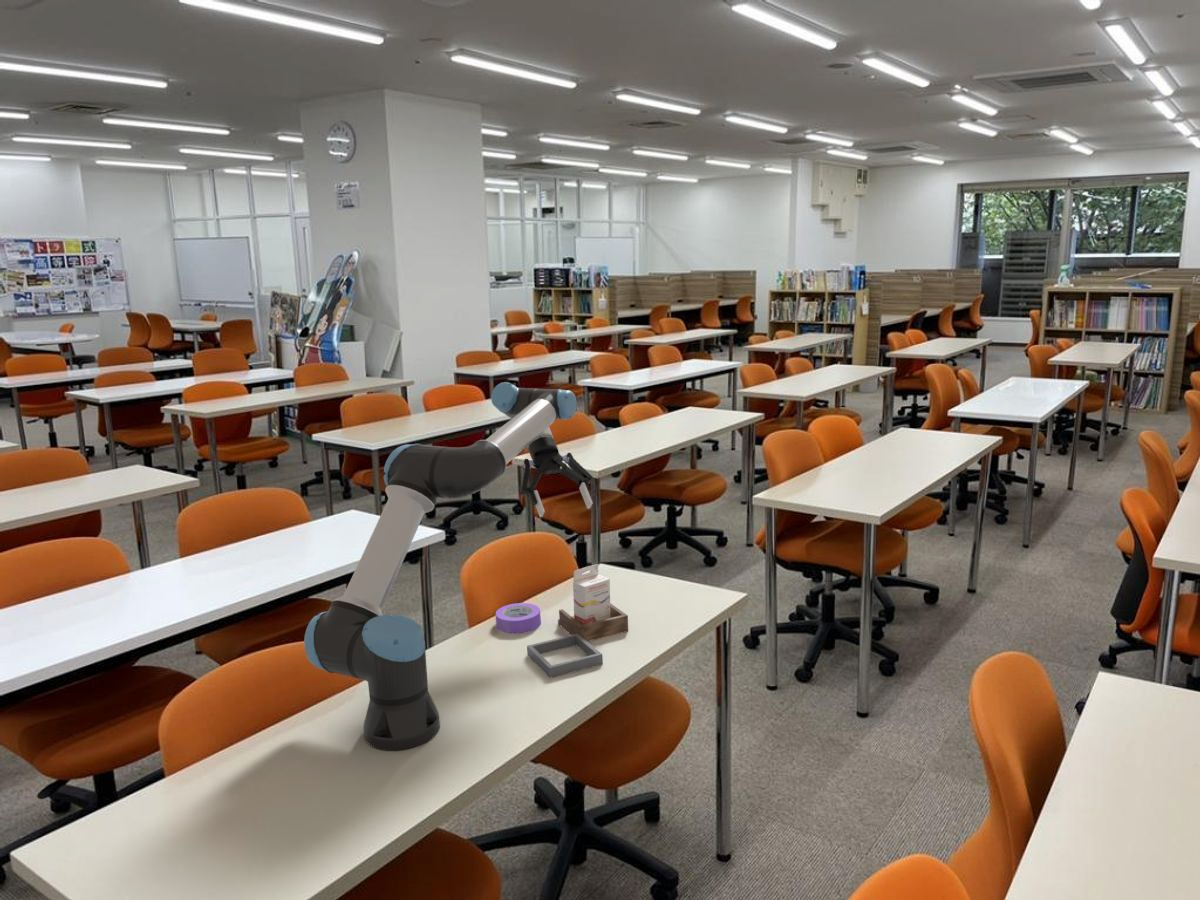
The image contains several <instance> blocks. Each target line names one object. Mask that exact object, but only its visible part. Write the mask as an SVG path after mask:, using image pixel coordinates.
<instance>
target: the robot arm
mask: <svg viewBox="0 0 1200 900" xmlns="http://www.w3.org/2000/svg"><path fill="white" fill-rule="evenodd" d="M490 399H491V400H490V401H491V404H492V406H493V407H495V408H496V409H497V410H498V411H499V412H500V413H502V414H504V415H505V416H507V417H508V418H510V419H509V420H508V421H507V422H506V423H505V424H503V425H502V426H501V427H500V428H499V429H497V430H495V432H494V433H492V434H491V435H489V437H488V438H486V439H480V440H477V441H475V442H474V443H473V444H471V445H468V446H462V447H461V446H460V447H454V446H453V447H449V446H439V445H425V444H423V443H414V444H403V445H400V446H398V447H397V448H395V449H394V450H393V451H391V453H390V454H389V456H388V458H387V459H386V460H385V464H384V468H383V472H384V475H383V480H384V484H385V486H386V487H385V489H384V491H385V493H386V496H387V501H386V503H385V505H384V507H383V510H382V511H381V514H380V516H379V519H378V520H377V523H376V524H375V527H374V529H373V532H372V534H371V535H370V538H369V540H368V541H367V544H366V546H365V548H364V550H363V553H362V555H361V557H360V559H359V562H358V563H357V566H356V567H355V570H354V572H353V574H352V577H351V578H350V580H349V583H348V585H347V587H346V589H345V591H344V593H343V595H342V596H340V597H337V598H334V599H333V600H332V602H331V604H330V606H329V609H328V610H327V611H323V612H319V613H318V614H317V615H314V616H313V617H312V618H311V620H310V621H309V622H308V625H307V627H306V630H305V633H304V637H303V638H304V640H303V647H304V650H305V655H306V658H307V660H308V661H309V662H310V664H311V665H312V666H314V667H315V668H317V669H319V670H323V671H326V672H327V673H329V674H338V675H341V676H346V677H350V678H354V679H358V680H361V681H362V680H363V681H366V682H367V686H368V694H369V696H368V697H369V704H368V706H367V710H366V715H365V718H364V723H363V736H364V737H363V738H364V739H365V742H366V741H367V742H368V743H369V744H370V745H369V744H368V743H367V742H366V743H367V744H368V745H369V746H371V745H372V746H374V747H373V748H375V747H376V748H375V749H378V748H379V749H378V750H382V749H385V750H384V751H399V750H402V751H403V750H406V749H411V748H416V747H418V746H420V745H423V744H425V743H426V742H428V741H430V740H431V739H433V738H434V737H435V736H436V734H437V733H438V732H439V730H440V727H441V722H440V721H441V719H440V713H439V711H438V709H437V706H436V705H435V702H434V700H433V698H432V696H431V693H430V692H429V685H428V682H429V681H428V668H427V667H428V666H427V653H426V641H425V638H424V637H425V636H424V633H423V627H422V626H421V624H420V623H419V622H418V621H417V620H416V619H413V618H411V617H410V616H407V615H402V614H392V615H389V614H383V612H382V611H383V608H384V606H385V603H386V601H387V599H388V597H389V594H390V592H391V590H392V587H393V586H394V583H395V581H396V579H397V577H398V574H399V572H400V569H401V567H402V564H403V562H404V560H405V558H406V556H407V554H408V552H409V549H410V546H411V544H412V542H413V540H414V537H415V535H416V533H417V531H418V528H419V526H420V524H421V522H422V520H423V517H424V515H425V514H426V513H430V512H432V511H433V510H434V509H435V507H436V504H437V503H438V500H439V499H449V500H455V499H456V500H457V499H462V498H465V497H469V496H470V495H471V496H472V494H476V493H477V492H479V491H481V490H483V489H485V488H486V487H488V486H489V485H490V484H491V485H492V484H493V483H494V482H495V481H496V480H498V478H499V479H500V477H501V476H503V474H504V473H505V472H506V469H507V465H508V464H509V462H511V461H512V460H513V459H514V458H516V456H518V455H519V454H520V453H521V452H523V450H524V449H525V448H526V449H527V448H528V449H527V450H528V453H529V454H530V455H529V456H530V458H531V460H530V459H528V458H525V459H524V460H523V462H522V470H523V472H522V477H521V484H520V488H519V489H520V490H519V493H520V494H521V495H525V496H526V498H529V501H530V504H531V505H532V506H535V508H536V510H537V513H538V516H539V518H543V516H544V514H545V508H544V506H543V502H542V500H541V497H540V494H539V491H538V490H537V489H536V490H535V488H536V486H537V484H538V482H539V480H540V478H541V477H542V474H544V475H545V476H546V475H547V476H548V475H550V474H557V473H558V474H559V475H563V476H565V477H567V478H568V479H569V480H571V481H573V482H574V483H576V484H578V485H579V488H578V489H579V491H580V495H581V496H582V499H583V501H584V503H585V504H584V505H585V506H586V509H587V510H588V509H591V507H592V505H593V504H594V502H593V500H592V497H591V495H592V494H591V493H592V490H591V488H590V486H589V484H591V482H592V480H593V478H594V476H593V475H591V474H590V472H588V471H587V469H585V468H584V466H582V465H581V464H580V463H579V462H578V461H577V460H576V459H575V458H574V457H573V454H572V452H567V453H566V454H565V455H561V454H560V452H559V448H558V446H557V443H556V441H555V439H554V436H553V434H552V431H551V428H550V426H551V425H552V424H553V423H555V422H556V421H557V420H570V419H572V418H573V417H575V414H576V412H577V407H578V406H577V405H578V402H577V398H576V395H575V394H574V392H573V391H571V390H569V389H568V390H566V389H561V388H559V389H553V388H549V389H548V388H533V387H532V388H531V387H530V388H529V387H528V388H527V387H526V388H525V387H517V386H516V385H515V384H513V383H511V382H507V381H506V382H505V381H504V382H500V383H499V384H497V385H495V386H494V388H493V390H492V392H491V396H490ZM532 467H534V468H535V469H536V470H537V472H536V474H535V476H534V477H533V479H532V481H531V484H530V486H529V487H528V483H529V482H528V481H529V475H530V472H531V469H532ZM372 746H371V747H372Z"/></svg>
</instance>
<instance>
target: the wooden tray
mask: <svg viewBox="0 0 1200 900" xmlns="http://www.w3.org/2000/svg"><path fill="white" fill-rule="evenodd" d="M558 613H559V614H558V615H559V617H558V618H559V619H557V624H558V626H560V625H561V626H562V627H561V626H560V627H561V628H562V629H563V630H565V632H567V633H568V632H569V633H568V634H569V635H573V634H577V633H578V634H579V635H580V636H581V637H582V638H584V639H585V640H586V641H587V642H589V641H590V640H591V641H594V640H598V638H599V639H601V638H602V637H603V638H606V637H610V636H613V635H618V634H621V632H622V633H625V632H629V618H628V617H629V615H628V614H627V613H625V612H623V611H622V610H621V609H619V608H618V607H616V605H613V604H612V603H611V602H610V618H608V619H604V620H600V621H596V622H592V623H588V624H584V625H581V624H580V623H579V622H578V621H576V620H575V619H574V615H572V616H571V615H570V614H569V613H568V612H567V611H565V610H564V609H559V610H558ZM617 633H618V634H617Z"/></svg>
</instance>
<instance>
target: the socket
mask: <svg viewBox="0 0 1200 900" xmlns="http://www.w3.org/2000/svg"><path fill="white" fill-rule="evenodd" d="M573 646H576V647H577V648H578V649H580V650H581V651H582V652H583V653H584V654H585V656H583V657H579V658H574V659H571V660H567V661H566V660H565V661H563V662H559V663H554V664H551V663H550V662H549V661H548V660H547V658H545V657H544V656H543V654H545V653H550V652H554V651H558V650H562V649H566V648H571V647H573ZM526 655H527V656H528V658H529V659H530V660H532V662H533V663H535V665H536V666H538V667H539V669H540V670H541V671H543V673H544V674H545V675H546V676H547V677H548V678H550V679H552V678H556V677H559V676H563V675H566V674H567V675H568V674H571V673H575V672H579V671H582V670H585V669H590V668H593V666H594V667H598V666H600V665H603V664H604V660H603V653H601V652H600V651H599V650H598V649H597V648H595V647H594V646H593V644H591V643H590V642H589V641H586V640H585V639H584V638H582V637H581V636H580V635H579V634H578V633H577V634H573V635H571V634H569V635H566V636H561V637H556V638H553V639H548V640H545V641H541V642H538V643H532V644H528V645H526Z"/></svg>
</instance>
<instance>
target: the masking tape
mask: <svg viewBox="0 0 1200 900" xmlns="http://www.w3.org/2000/svg"><path fill="white" fill-rule="evenodd" d="M541 617H542V616H541V608H540V607H539V606H538V605H536V604H533V603H527V602H518V603H517V602H516V603H511V604H507V605H503V606H502V607H500V608H498V609H497V610H496V612H495V623H496V624H495V626H496V629H498V631H500V632H502V633H505V634H510V635H511V634H512V633H513V634H512V635H514V634H518V635H519V634H526V633H529V632H532V631H535V630H536V629H538V628H539V627H540V626H541V625H542V619H541Z"/></svg>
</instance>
